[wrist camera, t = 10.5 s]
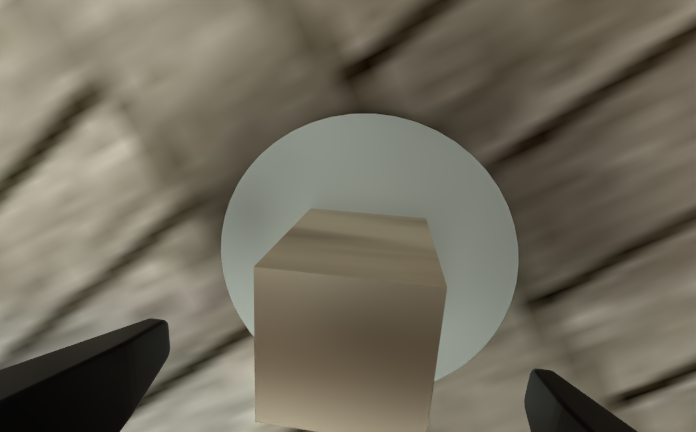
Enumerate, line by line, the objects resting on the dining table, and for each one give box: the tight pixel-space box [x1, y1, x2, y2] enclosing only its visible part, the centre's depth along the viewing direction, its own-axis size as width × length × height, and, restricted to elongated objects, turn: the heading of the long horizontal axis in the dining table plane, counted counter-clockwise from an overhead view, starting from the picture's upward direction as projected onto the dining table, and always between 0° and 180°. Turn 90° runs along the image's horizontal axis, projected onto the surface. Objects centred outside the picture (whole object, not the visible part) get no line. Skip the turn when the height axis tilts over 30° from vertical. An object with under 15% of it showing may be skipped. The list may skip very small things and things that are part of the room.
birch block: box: [254, 208, 447, 432], centre depth 12 cm, size 4×4×6 cm
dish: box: [221, 114, 519, 381], centre depth 15 cm, size 12×12×1 cm
